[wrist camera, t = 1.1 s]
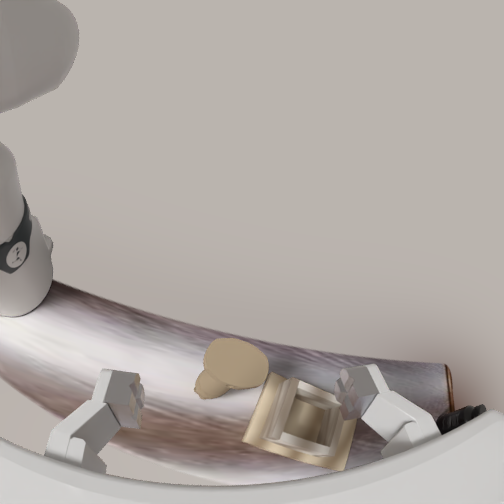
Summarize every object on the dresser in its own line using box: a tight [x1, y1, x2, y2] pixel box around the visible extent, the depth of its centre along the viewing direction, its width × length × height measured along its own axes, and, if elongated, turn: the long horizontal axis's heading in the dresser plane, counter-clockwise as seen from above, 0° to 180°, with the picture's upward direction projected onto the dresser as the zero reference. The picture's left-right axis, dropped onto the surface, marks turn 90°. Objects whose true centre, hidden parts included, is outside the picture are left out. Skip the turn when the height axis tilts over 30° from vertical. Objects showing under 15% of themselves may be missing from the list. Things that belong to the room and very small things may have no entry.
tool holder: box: [242, 372, 357, 471], centre depth 36 cm, size 18×12×6 cm, turn 67°
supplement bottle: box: [436, 404, 486, 435], centre depth 40 cm, size 7×7×12 cm
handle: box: [194, 338, 269, 399], centre depth 31 cm, size 5×6×15 cm
